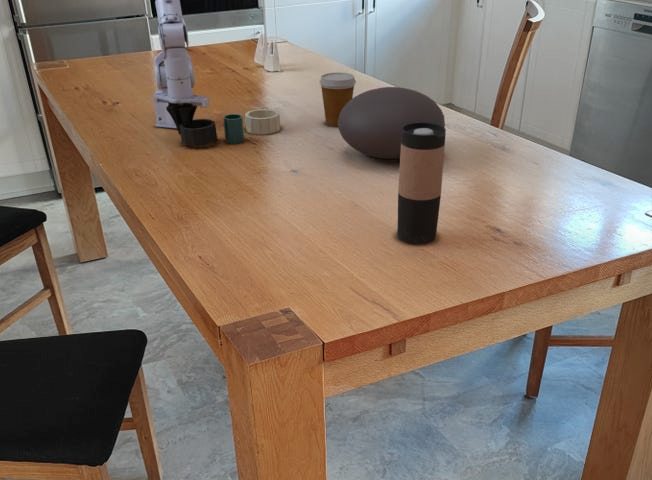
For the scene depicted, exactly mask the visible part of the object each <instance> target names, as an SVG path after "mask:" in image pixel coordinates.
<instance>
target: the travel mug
mask: <svg viewBox="0 0 652 480" xmlns="http://www.w3.org/2000/svg"><path fill="white" fill-rule="evenodd" d="M446 132H447V130H446V127H443V126H441V125H438V124H434V123H425V122H419V123H411V124H407V125H405V126H403V128H402V137H401V153H400V158H399V170H398V172H399V174H398V190H397V238H398V239H399V241H401V242H402V243H405V244H408V245H414V246H415V245H416V246H417V245H421V246H422V245H427V244H431V243H432V242H434V241H435V240H436V238H437V231H438V222H439V214H440V207H441V206H440V205H441V198H442V197H441V196H442V188H443V187H442V185H443V173H444V172H443V171H444V161H445V160H444V159H445V146H446V135H447V133H446Z"/></svg>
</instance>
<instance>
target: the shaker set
mask: <svg viewBox="0 0 652 480" xmlns="http://www.w3.org/2000/svg"><path fill="white" fill-rule="evenodd" d="M253 61H254V63H256V64H258V65H260V66H261V67H263V69H265V70H266V71H267V72H282V68H281V62H280V54H279V48H278V44H277V40H276V39H275V40H274V39H272V40H270V41H269V43H268V37H267V34H266V33H265V32H260V33H259V36H258V39H257V45H256V49H255V53H254V59H253Z"/></svg>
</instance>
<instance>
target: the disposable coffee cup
mask: <svg viewBox="0 0 652 480" xmlns="http://www.w3.org/2000/svg"><path fill="white" fill-rule="evenodd" d="M356 83H357V81H356V79H355V75H354V74H353V73H348V72H328V73H323V74H322V75H321V76H320V80H319V86H320V87H321V95H322V103H323V111H324V118H325V125H327V126H330V127H338V119H339V115H340V112H341V110H342V108H343V107H344V106H345V105H346V104H347V103H348V102H349V101H350V100H351V99H353V98H354V89H355V85H356Z"/></svg>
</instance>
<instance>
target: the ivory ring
mask: <svg viewBox="0 0 652 480" xmlns="http://www.w3.org/2000/svg"><path fill="white" fill-rule="evenodd" d="M280 116H281V115H280V112H279V111H278V110H275V109H270V108H260V109H252V110H248V111H247V112H245V113H244V118H245V130H246V132H247V133H250V134H252V135H270V134H274V133H278V132H279V131H280V130H281V117H280Z"/></svg>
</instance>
